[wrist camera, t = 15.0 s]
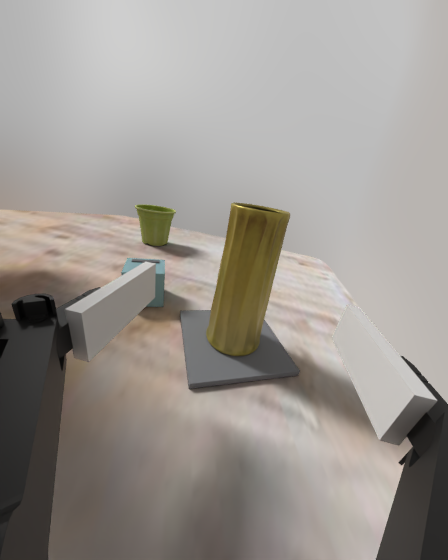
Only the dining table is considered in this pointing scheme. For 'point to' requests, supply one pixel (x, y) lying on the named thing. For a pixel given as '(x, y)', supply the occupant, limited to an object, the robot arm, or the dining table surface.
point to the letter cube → (159, 278)
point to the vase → (246, 277)
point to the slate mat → (225, 368)
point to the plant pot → (154, 223)
